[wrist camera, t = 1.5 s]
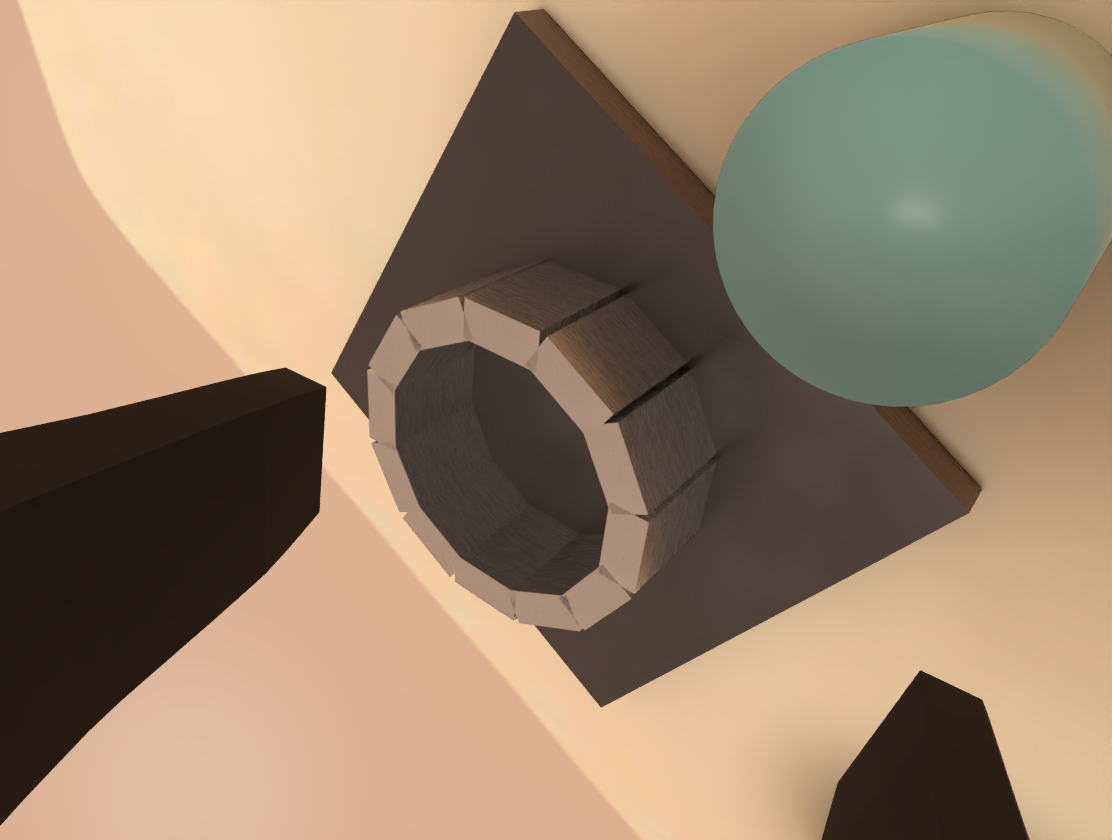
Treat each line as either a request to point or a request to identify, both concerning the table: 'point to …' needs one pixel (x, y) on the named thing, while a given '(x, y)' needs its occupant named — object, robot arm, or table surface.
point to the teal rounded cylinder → (920, 205)
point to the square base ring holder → (611, 392)
